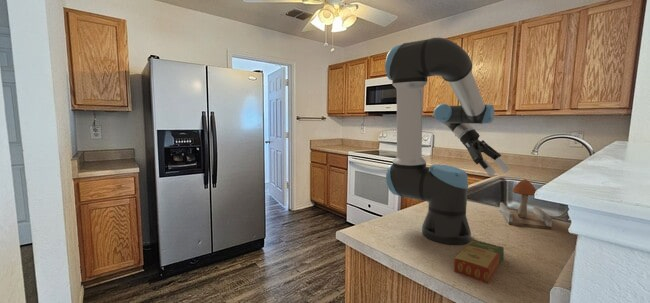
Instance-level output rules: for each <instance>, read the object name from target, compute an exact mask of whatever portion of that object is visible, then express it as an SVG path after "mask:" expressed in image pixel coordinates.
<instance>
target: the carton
mask: <svg viewBox="0 0 650 303" xmlns="http://www.w3.org/2000/svg"><path fill="white" fill-rule="evenodd" d="M504 251H505V248H504V246H500V245H496V244H492V243H488V242H485V241H480V240H476V239H472V240H470V241H469V242H468V243H467V245H466V246H465V247H464V248H463V249H462V250H461V251H460V252H459V253H458V254H457V255H456V256H455V257H454V260H453V272H454V273H458V274H460V275H463V276H465V277H468V278H471V279H474V280H477V281H479V282H483V283H485V284H489V283H490V282H491V281H492V280H493V278H494V276H495V274H496V273H497V271H498V270H499V267H500V266H501V265H502V263H503V262H504V258H505V257H504V256H505V254H504Z"/></svg>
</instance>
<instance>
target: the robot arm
mask: <svg viewBox="0 0 650 303" xmlns="http://www.w3.org/2000/svg"><path fill="white" fill-rule="evenodd" d="M384 63H385V64H384V69H385V70H384V71H385V73H386V77H387V79H388V80H390V81H392V86H393V87H394V88H395V89H396V157H395V158H394V159H393V160H392V164H390V165H389V166H388V167H387V170H386V171H387V172H386V174H385V180H386V185H387V188H388V190H389V191H390V193H391V194H393V195H395V196H398V197H401V198H405V199H407V198H408V199H411V200H412V199H413V200H418V201H423V202H427V203H428V206H427V207H428V210H427V213H426V216H425V218H424V220H423V223H422V226H421V234H422V235H423V236H424V237H425V238H427V239H429V240H431V241H433V242H436V243H441V244H447V245H464V244H469V243H470V242H471V241H472V240H471V238H472V237H471V236H472V232H471V228H470V225H469V221H468V218H467V202H468V188H469V184H468V183H469V182H468V179H469V177H468V173H467V172H466V171H465V170H463V169H462V168H459V167H456V166H452V165H447V164H440V163H439V164H437V163H436V164H435V163H434V164H431V165H430V166H429V167H427V160H426V159H425V158H423V154H422V153H423V151H422V150H423V149H422V148H423V89H424V87H425V86H426V85H427V84H428V77H435V76H436V77H438V76H439V77H441V78H442V80H444V81H445V82H447V83H448V84H449V86H450V88H451V89H452V92H453V93H454V95H455V96H456V99H457V100H458V102H459V105H449V104H446V103H440V104H437V106H436V107H435V108H434V110H433V117H434V119H436V120H437V122H439V123H442V124H444V125H445V126H446V127H448V128H449V129H450V131H451V132H452V133H453V134H454V136H455V137H456V138H457V139H459V141H460V142H461V143H462V144H463V145H464V147H465V148H466V149H467V151H468V153H469V155H470V157H471V159H472V161H473V162H474V163H475V164H476V165H480V167H482V169H483V170H484V171H485V172H486V174H487V175H489V177H492V176H493V175H495V174H496V173H497V171H496V170H495V169H494V168H493V167H492V165H491V164H490V163H489V162H488V161H487V159H485V158H483V157H484V156H483V154H482V153H484V154H485V155H487V156H488V157H490V158H491V159H492V160H493V162H494V163H495V164H496V165H497V166H498V167H499V168H500V170H501V171H502V172H503V173H507V172H509V171H510V170H511V168H510V166H509V165H507V163H506V162H505V161H504V160H503V159H502V158H501V156H502V154H501V153H499V152H498V151H497V150H495V149H494V148H493V147H491V145H489V144H488V143H487V142H486V141H485V140H484V139H483V140H481V141H480V140H479V138H480V136H481V135H480V134H479V133H478V132H477V130H476V129H474V127H473V126H472V124H480V125H482V124H491V123H492V122H493V121H494V118H495V107H494V105H493V104H488V103H487V104H485V102H484V100H483V97H482V95H481V92H480V89H479V87H478V84H477V82H476V80H475V77H474V74H473V72H472V70H473V63H472V60H471V57H470V55H469V54H468V53H467V51H466V50H465V49H464V48H463V47H462V46H460V45H459V44H457V43H456V42H454V41H453V40H450V39H448V38H444V37H432V38H427V39H422V40H416V41H410V42H404V43H401V44H399V45H395V46H393V47H392V48H390V50H389V51H388V53H387V55H386V58H385V62H384Z"/></svg>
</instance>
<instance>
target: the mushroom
mask: <svg viewBox="0 0 650 303" xmlns="http://www.w3.org/2000/svg"><path fill="white" fill-rule="evenodd" d="M511 191H512V192H513V193H514V194H517V195H521V197H520V205H519V207H518V210H517V211H518V217H521V218H526V216H527V212H528V209H527V208H528V205H527V204H528V198H529V196H535V195H534V193H535V191H537V190H536V187H535V186H534V184H533V183H531V182H530V181H529V180H527V179H526V178H525V179H523V180H520V181H519V182H517V183H516V184H515V186H514V187H513V189H512V190H511Z"/></svg>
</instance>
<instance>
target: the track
mask: <svg viewBox="0 0 650 303" xmlns="http://www.w3.org/2000/svg"><path fill="white" fill-rule="evenodd" d="M498 211H499V213H500V215H501V216H502V217H503V218H504V220H505V221H506V223H507V224H508V225H510V226H519V227H527V228H529V227H530V228H535V229H536V228H537V229H544V230H546V229H547V230H552V225H553V218H552V217H551V216H550V215H548V213H546V212H545V211H544V210H543V209H542V208H540V207H539V206H538V205H536V204H535V205H533V212H531V211H527V216H526V218H521V217H518V210H510V209H509V208H508V207H507V206H506V204H505V203H504V202H502V201H501V202H499V210H498Z"/></svg>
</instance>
